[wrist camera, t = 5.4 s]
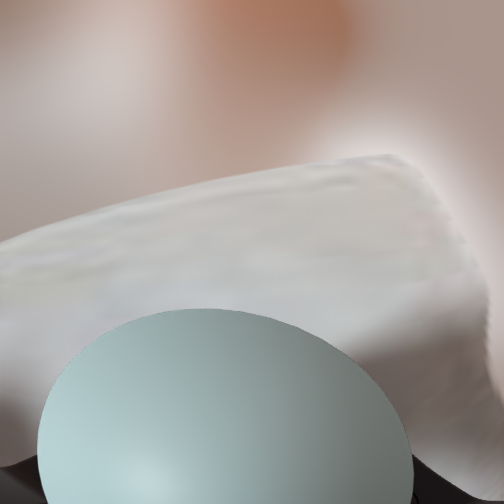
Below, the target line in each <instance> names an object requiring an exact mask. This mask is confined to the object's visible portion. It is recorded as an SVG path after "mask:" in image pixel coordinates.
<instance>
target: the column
mask: <svg viewBox="0 0 504 504" xmlns="http://www.w3.org/2000/svg"><path fill="white" fill-rule="evenodd" d="M37 455H38V467H39V473H40V478H41V482H42V487H43V490H44V493H45V496H46V499H47V501H48V504H410V503H411V498H412V492H413V479H414V471H413V460H412V452H411V448H410V444H409V441H408V437H407V434H406V430H405V428H404V426H403V424H402V422H401V420H400V417H399V415H398V413H397V411H396V409H395V408H394V406H393V405H392V403H391V402H390V400H389V399H388V397H387V396H386V394H385V393H384V391H383V390H382V389H381V388H380V386H379V385H378V384H377V383H376V382H375V381H374V380H373V379H372V378H371V377H370V375H369V374H368V373H367V372H366V371H365V370H364V369H362V368H361V367H360V366H359V365H358V364H356V363H355V362H354V361H353V360H352V359H350V358H349V357H348V356H347V355H346V354H344V353H343V352H341V351H340V350H338V349H337V348H335V347H333V346H332V345H330V344H329V343H327V342H326V341H324V340H323V339H321V338H318V337H316V336H314V335H312V334H310V333H308V332H306V331H304V330H302V329H300V328H298V327H295V326H292V325H289V324H286V323H284V322H281V321H278V320H275V319H272V318H268V317H264V316H259V315H255V314H251V313H246V312H240V311H231V310H222V309H185V310H177V311H168V312H162V313H158V314H154V315H150V316H146V317H142V318H139V319H136V320H134V321H131V322H129V323H126V324H123V325H121V326H119V327H117V328H115V329H113V330H111V331H109V332H108V333H106V334H104V335H102V336H100V337H99V338H98V339H96V340H95V341H93V342H92V343H91V344H89V345H88V346H87V347H85V348H84V349H83V350H82V351H81V352H80V353H79V354H78V355H77V356H76V357H75V358H74V359H73V360H72V361H71V362H70V363H69V364H68V365H67V367H66V368H65V369H64V371H63V372H62V373H61V375H60V376H59V377H58V379H57V381H56V382H55V384H54V386H53V388H52V390H51V391H50V393H49V395H48V398H47V401H46V403H45V406H44V409H43V412H42V416H41V420H40V425H39V430H38V443H37Z"/></svg>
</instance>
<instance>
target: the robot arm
mask: <svg viewBox="0 0 504 504" xmlns="http://www.w3.org/2000/svg"><path fill="white" fill-rule="evenodd" d="M412 460H413V471H414V479H413V492H412V498H411V503H410V504H504V501H486V500H481V499H478V498H475V497H473V496H471V495H469V494H467V493H466V492H464V491H463V490H461V489H459V488H458V487H456V486H455V485H453V484H452V483H450V482H449V481H447V480H446V479H444V478H443V477H441V476H440V475H438V474H437V473H435V472H434V471H433V470H431V469H430V468H429V467H427V466H426V465H425V464H424V463H422V462H421V461H420V460H419V459H418V458H417V457H415V456H414V455H413V454H412ZM0 504H48V501H47V499H46V496H45V493H44V490H43V487H42V482H41V478H40V473H39V467H38V455H35V456H33V457H31V458H28V459H26V460H24V461H21V462H19V463H17V464H14V465H11V466H7V467H0Z"/></svg>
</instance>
